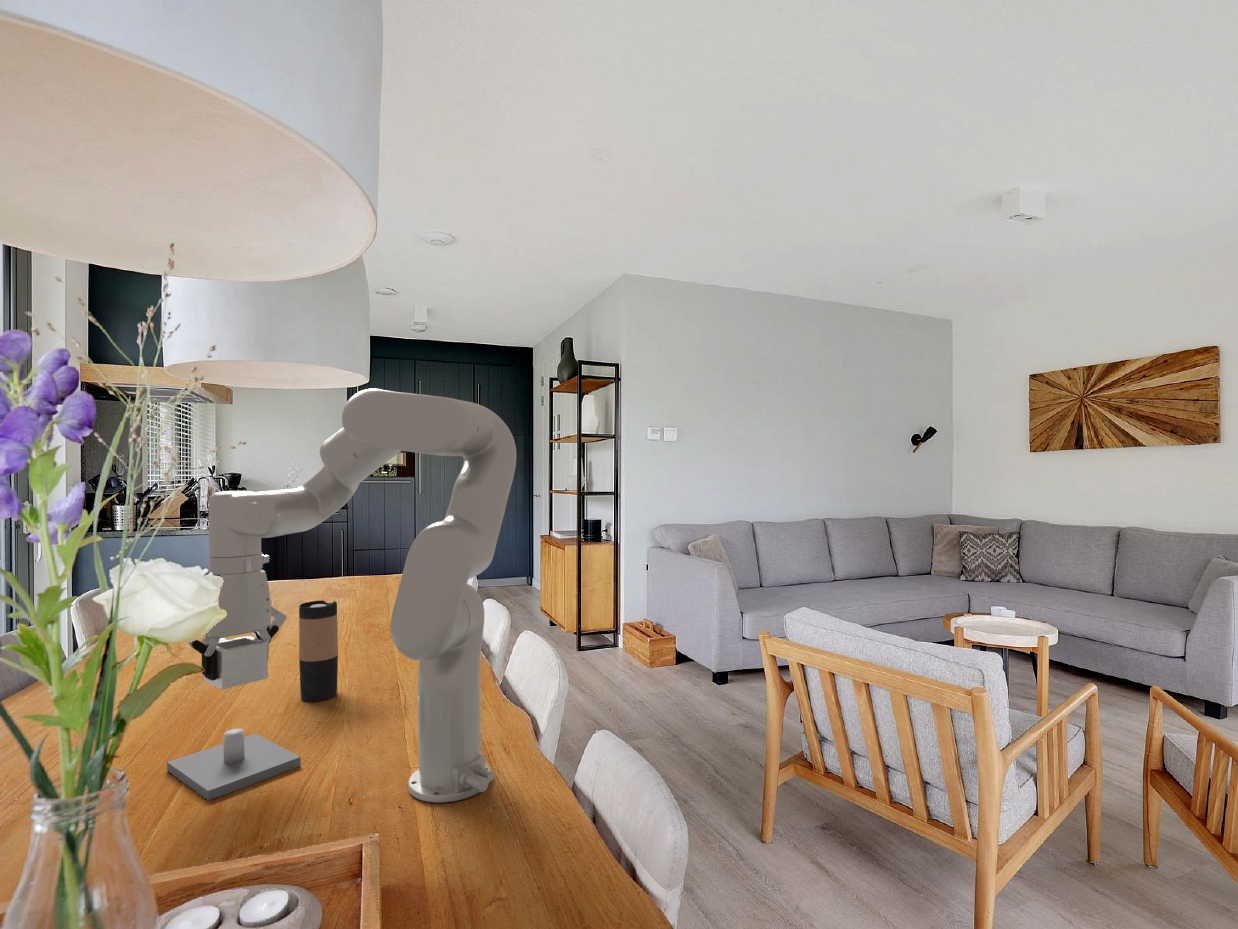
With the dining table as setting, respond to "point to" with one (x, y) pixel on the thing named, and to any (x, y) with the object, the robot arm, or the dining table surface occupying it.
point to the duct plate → (232, 764)
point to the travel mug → (318, 650)
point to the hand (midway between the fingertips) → (236, 671)
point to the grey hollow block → (240, 662)
